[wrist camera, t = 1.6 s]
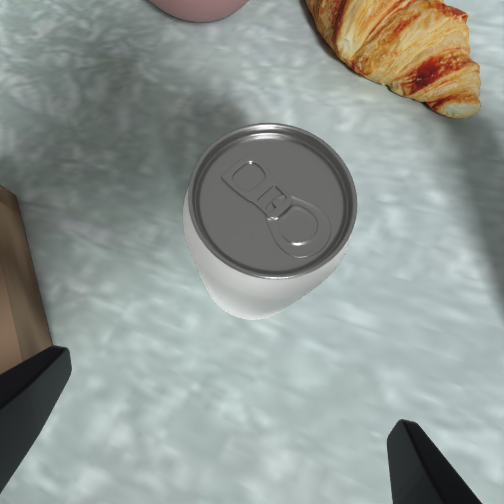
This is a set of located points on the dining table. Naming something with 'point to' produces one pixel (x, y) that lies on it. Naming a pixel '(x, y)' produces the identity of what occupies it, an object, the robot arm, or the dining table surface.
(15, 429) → the robot arm
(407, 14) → the croissant
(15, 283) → the cradle
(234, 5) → the mortar and pestle
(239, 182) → the can
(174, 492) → the dining table surface
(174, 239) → the dining table surface
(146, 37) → the dining table surface
